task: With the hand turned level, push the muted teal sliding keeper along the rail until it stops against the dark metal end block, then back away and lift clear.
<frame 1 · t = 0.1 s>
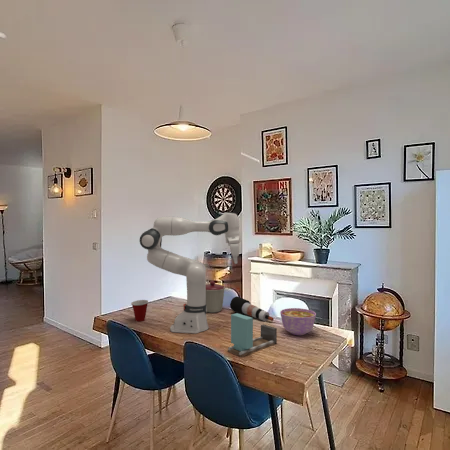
hand: (235, 262, 199), 39 cm above the table, tool pointing down, fingers open, 8 cm apart
rail: (253, 347, 169), on the table
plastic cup: (139, 320, 214), on the table
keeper: (241, 332, 163), point 9 cm above the table, slide at 0.0 cm
canister: (212, 311, 237), on the table
cable: (252, 317, 222), on the table
bowl of food: (297, 333, 191), on the table
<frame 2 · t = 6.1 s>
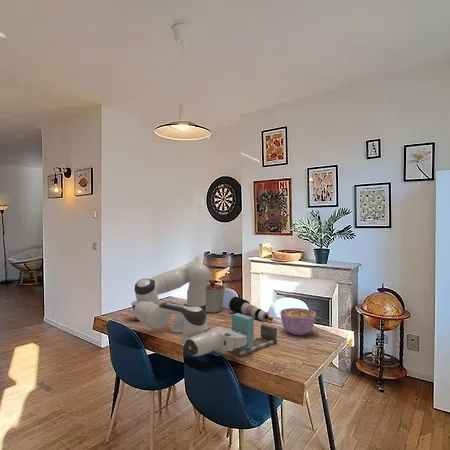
hand: (239, 332, 162), 10 cm above the table, tool horizontal, fingers closed, pressing on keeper
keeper: (242, 332, 164), point 9 cm above the table, slide at 0.6 cm, touching gripper
everything else where it was.
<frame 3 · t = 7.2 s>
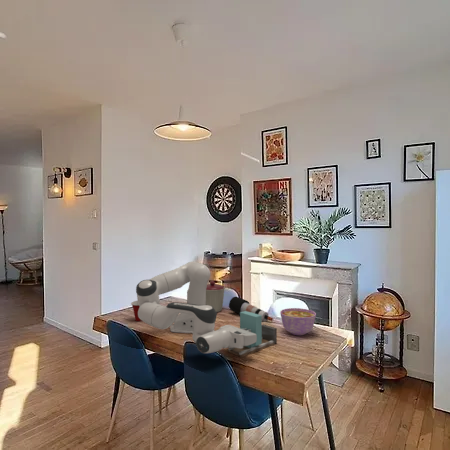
hand: (249, 330, 165), 10 cm above the table, tool horizontal, fingers closed, pressing on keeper
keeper: (250, 329, 167), point 9 cm above the table, slide at 6.2 cm, touching gripper
everything else where it was.
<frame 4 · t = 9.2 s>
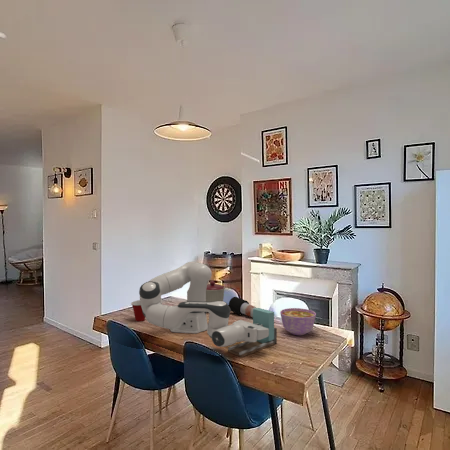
hand: (260, 325, 172), 10 cm above the table, tool horizontal, fingers closed, pressing on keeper
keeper: (263, 325, 174), point 9 cm above the table, slide at 15.8 cm, touching gripper
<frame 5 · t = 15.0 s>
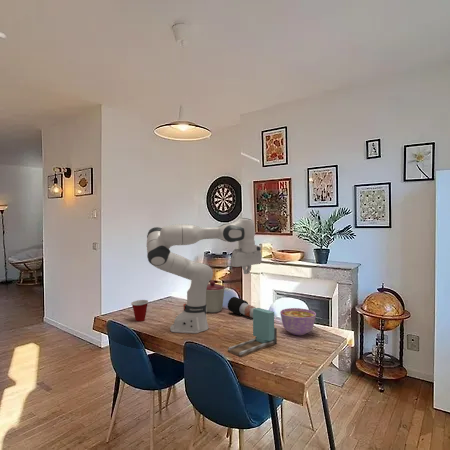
hand: (246, 273, 181), 35 cm above the table, tool pointing down, fingers closed
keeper: (263, 325, 174), point 9 cm above the table, slide at 15.8 cm
at the end: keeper slide at 15.8 cm; the gripper is holding nothing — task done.
